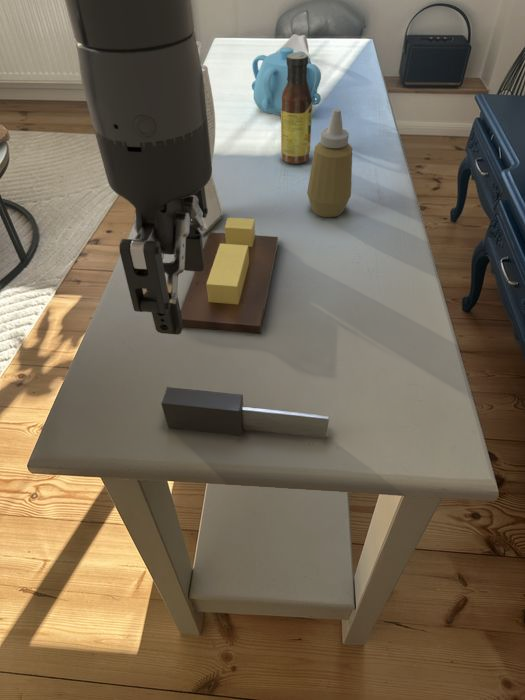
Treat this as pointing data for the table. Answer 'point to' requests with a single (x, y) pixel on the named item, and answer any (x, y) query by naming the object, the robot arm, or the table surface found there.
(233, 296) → the butter
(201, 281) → the board
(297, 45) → the spoon rest
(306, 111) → the sauce bottle
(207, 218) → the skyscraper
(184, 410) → the knife
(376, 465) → the table surface
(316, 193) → the squeeze bottle
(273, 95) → the decorative pot
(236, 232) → the butter slice
